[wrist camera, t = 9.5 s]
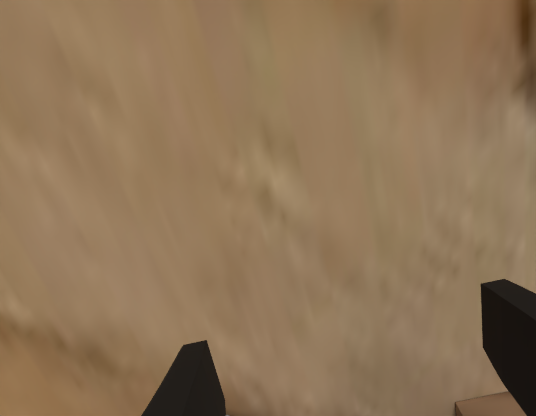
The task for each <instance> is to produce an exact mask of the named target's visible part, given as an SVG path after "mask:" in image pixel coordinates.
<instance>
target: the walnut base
mask: <svg viewBox="0 0 536 416" xmlns="http://www.w3.org/2000/svg"><path fill="white" fill-rule="evenodd" d="M455 405H456V416H527V415H526V414H525V413H524V411H523V410H522V409H521V407H520V406H519V404H518V403H517V402H516V400H515V399H514V398H513V396H512V395H511V394H510V392H504V393H499V394H494V395H489V396H484V397H479V398H474V399H469V400H464V401H459V402H455Z"/></svg>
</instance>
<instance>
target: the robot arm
mask: <svg viewBox="0 0 536 416" xmlns="http://www.w3.org/2000/svg"><path fill="white" fill-rule="evenodd" d="M481 304H482V334H483V348H484V350H485V352H486V354H487V356H488V358H489V359H490V361H491V363H492V365H493V367H494V369H495V370H496V372H497V374H498V375H499V377H500V379H501V381H502V382H503V384H504V385H505V387H506V388H507V389H508V391H509V392H510V394H511V395H512V396H513V398H514V399H515V400H516V402H517V403H518V404H519V406H520V407H521V409H522V410H523V411H524V413H525V414H526V415H527V416H536V294H535V293H533V292H531V291H529V290H527V289H525V288H523V287H521V286H519V285H517V284H515V283H513V282H510V281H508V280H506V279H502V280H497V281H492V282H487V283H482V284H481ZM141 416H228V415H226V411H225V398H224V395H223V392H222V389H221V385H220V382H219V379H218V376H217V373H216V369H215V366H214V363H213V360H212V356H211V353H210V350H209V347H208V343H207V340H205V341H200V342H196V343H191V344H186V345H183V347H182V348H181V350H180V351H179V353H178V355H177V357H176V358H175V360H174V362H173V364H172V366H171V367H170V369H169V371H168V373H167V374H166V376H165V378H164V380H163V381H162V383H161V385H160V386H159V388H158V390H157V391H156V393H155V395H154V396H153V398H152V400H151V401H150V403H149V404H148V406H147V408H146V409H145V411H144V412H143V414H142V415H141Z"/></svg>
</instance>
